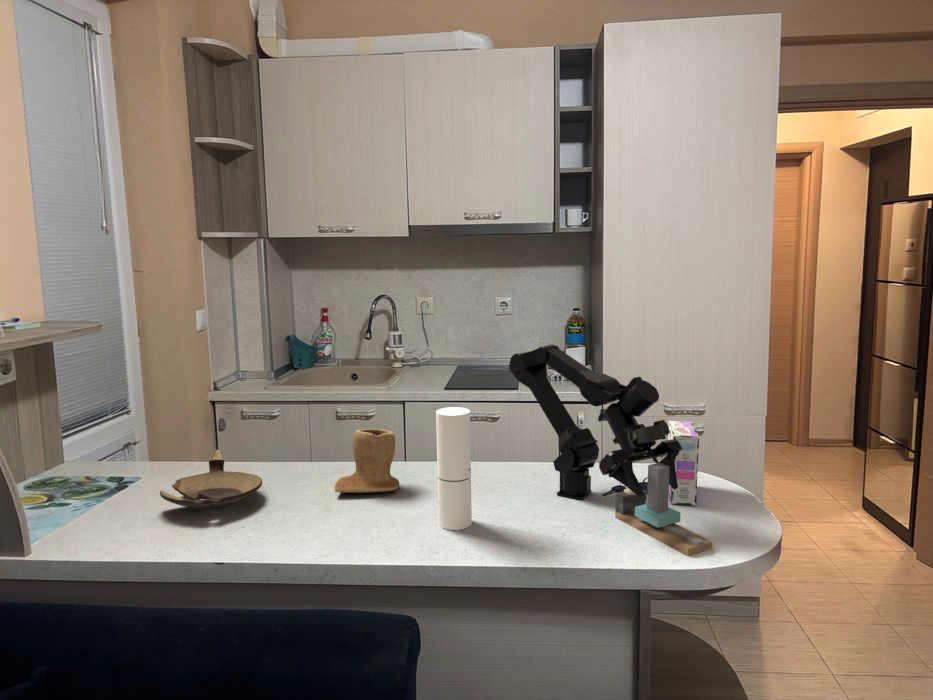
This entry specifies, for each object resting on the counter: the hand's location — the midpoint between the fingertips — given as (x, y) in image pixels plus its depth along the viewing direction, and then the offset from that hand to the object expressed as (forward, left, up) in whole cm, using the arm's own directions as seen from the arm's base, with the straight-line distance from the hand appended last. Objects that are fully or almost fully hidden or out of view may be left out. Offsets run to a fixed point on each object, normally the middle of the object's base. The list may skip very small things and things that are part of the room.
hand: (659, 492), depth 147 cm
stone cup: (-69, -11, -9) cm, 70 cm away
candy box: (-2, +23, -9) cm, 25 cm away
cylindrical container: (-39, -18, -9) cm, 44 cm away
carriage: (0, 0, -6) cm, 6 cm away
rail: (+1, 0, -8) cm, 8 cm away
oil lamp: (-96, -34, -9) cm, 102 cm away
